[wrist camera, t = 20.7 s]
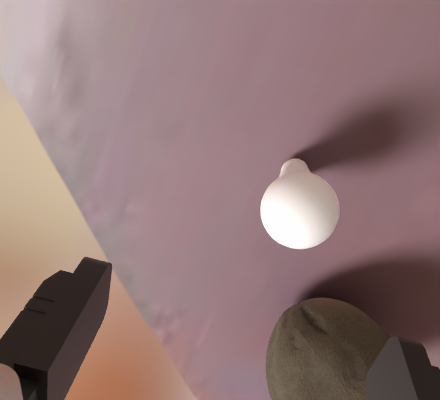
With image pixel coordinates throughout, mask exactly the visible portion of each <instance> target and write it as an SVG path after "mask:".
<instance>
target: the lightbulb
mask: <svg viewBox="0 0 440 400" xmlns="http://www.w3.org/2000/svg"><path fill="white" fill-rule="evenodd" d="M339 209H340V207H339V202H338V198H337V195H336V193H335V191H334V190H333V188H332V187H331V186H330V185H329V184H328V183H327V182H326V181H325V180H324V179H323V178H321V177H319V176H317V175H315V174H312V173H311V172H310V170H309V169H308V167H307V164H306V163H305V162H304V161H302V160H300V159H290V160H288V161H286V162H285V163H284V164H283V166H282V169H281V174H280V176H279V178H278V179H276V180H275V181H273V182H272V183H271V184H270V185H269V187H268V188H267V190H266V191H265V193H264V196H263V198H262V201H261V218H262V222H263V225H264V227H265V229H266V230H267V232H268V233H269V235H270V236H271V237H272V238H273V239H274V240H276V241H277V242H278V243H280V244H282V245H284V246H287V247H290V248H295V249H306V248H311V247H314V246H317V245H318V244H320V243H322V242H323V241H325V240H326V239H327V238H328V237H329V236H330V235H331V234H332V233H333V231H334V229H335V227H336V225H337V222H338V219H339Z"/></svg>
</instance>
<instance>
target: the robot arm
mask: <svg viewBox="0 0 440 400" xmlns="http://www.w3.org/2000/svg"><path fill="white" fill-rule="evenodd" d="M111 272H112V264H111V263H108V262H104V261H100V260H96V259H93V258H88V257H84V258H83V259H82V261H81V262H80V264H79V265H78V267H77V268H76V270H75V271H74V273H70V272H66V271H62V270H60V271H58V272H57V273H55V274H54V275H52V276H51V277H49V278H48V279H46V280H44V281H43V283H42V284H41V285H40V287H39V288H38V289H37V291H36V292H35V293H34V295H33V298H32V299H30V300H29V301H28V303H27V304H26V305H25V307H24V310H23V311H21V312H20V314H19V315H18V316H17V318H16V319H15V320H14V322H13V323H12V324H11V326H10V327H9V329H8V330H7V331H6V333H5V334H4V335H3V337H2V338H1V339H0V400H64V399H65V397H66V395H67V393H68V391H69V389H70V387H71V385H72V383H73V380H74V379H75V377H76V375H77V372H78V371H79V368H80V366H81V364H82V362H83V360H84V358H85V356H86V354H87V352H88V350H89V348H90V346H91V344H92V342H93V340H94V338H95V336H96V334H97V332H98V329H99V328H100V326H101V324H102V321H103V319H104V316H105V313H106V309H107V305H108V299H109V289H110V281H111ZM366 394H367V399H368V400H440V370H439V368H438V367H435V366H431V363H430V361H429V358H428V356H427V353H426V350H425V348H424V346H423V345H422V344H421V343H419V342H415V341H411V340H407V339H403V338H399V337H395V336H392V337H390V338H389V339H388V341H387V342H386V344H385V345H384V347H383V349H382V350H381V352H380V353H379V355H378V357H377V358H376V360H375V361H374V363H373V364H372V366H371V368H370V369H369V372H368V374H367V379H366Z"/></svg>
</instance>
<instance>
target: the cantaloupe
mask: <svg viewBox="0 0 440 400" xmlns="http://www.w3.org/2000/svg"><path fill="white" fill-rule="evenodd" d="M389 338H390V337H389V336H388V335H387V334H386V332H385V331H384V330H383V329H382V328H381V327H380V326H379V325H378V324H377V323H376V322H375V321H374V320H373V319H372V318H371V317H370V316H368V315H367V314H366V313H364V312H363V311H361V310H360V309H358V308H356V307H354V306H353V305H351V304H349V303H346V302H343V301H340V300H336V299H331V298H311V299H307V300H304V301H302V302H299V303H297V304H295V305H293V306H292V307H290V308H289V309H287V310H286V311H285V312H284V313H283V314H282V316H281V317H280V318H279V320H278V322H277V323H276V325H275V328H274V330H273V332H272V335H271V337H270V340H269V344H268V348H267V355H266V378H267V384H268V389H269V393H270V396H271V399H272V400H368V399H367V394H366V379H367V374H368V372H369V369H370V368H371V366H372V364H373V363H374V361H375V360H376V358H377V357H378V355H379V353H380V352H381V350H382V349H383V347H384V345H385V344H386V342H387V341H388V339H389Z"/></svg>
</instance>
